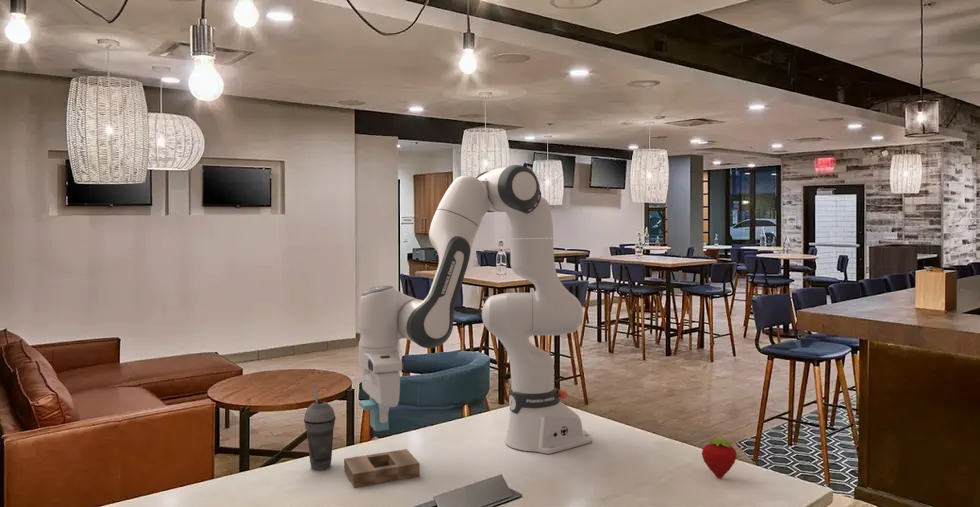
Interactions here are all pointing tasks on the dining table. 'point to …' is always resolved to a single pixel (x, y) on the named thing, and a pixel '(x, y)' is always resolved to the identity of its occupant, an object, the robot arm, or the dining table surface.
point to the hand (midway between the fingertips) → (379, 418)
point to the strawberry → (719, 457)
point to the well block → (381, 467)
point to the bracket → (374, 414)
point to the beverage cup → (320, 433)
